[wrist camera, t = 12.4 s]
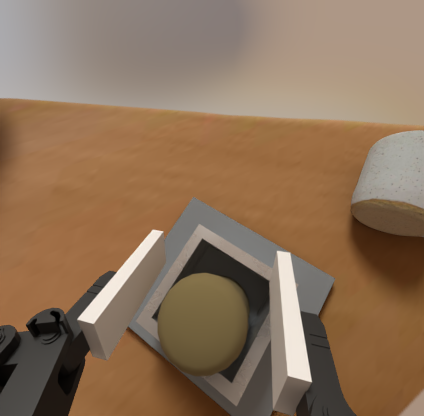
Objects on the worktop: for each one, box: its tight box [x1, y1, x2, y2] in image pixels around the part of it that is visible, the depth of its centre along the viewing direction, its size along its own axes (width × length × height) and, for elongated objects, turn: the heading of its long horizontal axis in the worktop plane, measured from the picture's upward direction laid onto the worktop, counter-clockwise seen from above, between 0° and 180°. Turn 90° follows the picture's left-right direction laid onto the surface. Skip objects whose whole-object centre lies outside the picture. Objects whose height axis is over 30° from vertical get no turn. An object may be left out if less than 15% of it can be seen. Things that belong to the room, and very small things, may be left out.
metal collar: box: [136, 224, 298, 406], centre depth 20 cm, size 10×10×5 cm
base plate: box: [128, 197, 335, 416], centre depth 23 cm, size 18×16×1 cm
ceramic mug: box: [351, 131, 424, 237], centre depth 20 cm, size 11×8×8 cm
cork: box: [157, 273, 250, 376], centre depth 16 cm, size 6×6×11 cm
